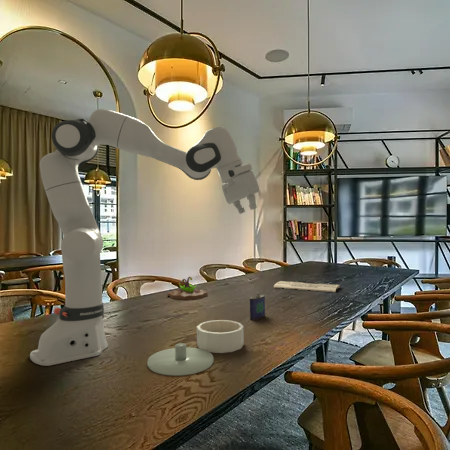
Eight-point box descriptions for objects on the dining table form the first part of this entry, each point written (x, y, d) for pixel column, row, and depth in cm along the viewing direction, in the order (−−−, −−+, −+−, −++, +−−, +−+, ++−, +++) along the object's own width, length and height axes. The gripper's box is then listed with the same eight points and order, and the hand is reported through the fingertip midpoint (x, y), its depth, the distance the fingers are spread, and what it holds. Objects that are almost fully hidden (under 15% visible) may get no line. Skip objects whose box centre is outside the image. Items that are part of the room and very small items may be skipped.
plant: (185, 302, 182) (185, 280, 182) (162, 297, 195) (162, 276, 195) (213, 296, 197) (212, 276, 196) (189, 291, 210) (189, 272, 210)
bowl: (219, 356, 106) (219, 336, 106) (188, 344, 117) (188, 326, 117) (252, 344, 117) (252, 326, 117) (220, 334, 128) (220, 317, 128)
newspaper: (339, 288, 218) (339, 283, 218) (335, 294, 201) (335, 289, 201) (281, 284, 234) (281, 280, 234) (272, 289, 216) (272, 284, 216)
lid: (174, 383, 90) (174, 363, 89) (134, 363, 103) (134, 345, 103) (226, 362, 103) (226, 344, 103) (185, 346, 116) (185, 330, 116)
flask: (261, 315, 154) (261, 290, 154) (267, 316, 152) (267, 291, 152) (248, 319, 147) (248, 293, 147) (254, 320, 145) (253, 294, 145)
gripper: (214, 183, 129) (228, 218, 129) (236, 168, 110) (253, 210, 110) (229, 177, 131) (243, 211, 131) (252, 162, 112) (269, 203, 113)
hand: (248, 211), depth 121 cm, fingers open, 8 cm apart
